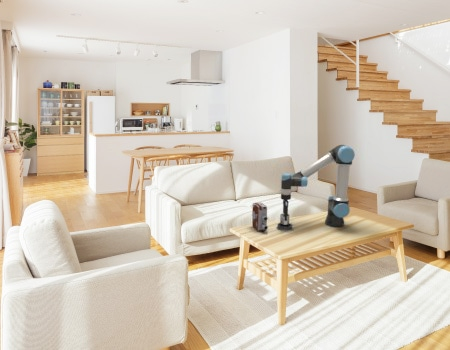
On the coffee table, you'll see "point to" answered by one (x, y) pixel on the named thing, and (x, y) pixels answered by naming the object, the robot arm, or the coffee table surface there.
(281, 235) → the coffee table surface
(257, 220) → the cine camera
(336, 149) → the robot arm
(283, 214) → the grey cube
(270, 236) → the coffee table surface
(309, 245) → the coffee table surface
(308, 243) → the coffee table surface
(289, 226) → the lens barrel
